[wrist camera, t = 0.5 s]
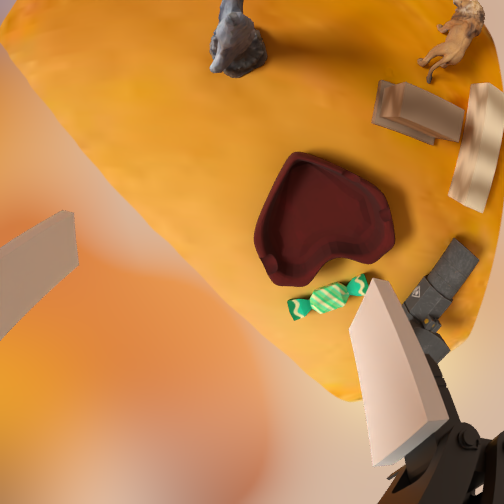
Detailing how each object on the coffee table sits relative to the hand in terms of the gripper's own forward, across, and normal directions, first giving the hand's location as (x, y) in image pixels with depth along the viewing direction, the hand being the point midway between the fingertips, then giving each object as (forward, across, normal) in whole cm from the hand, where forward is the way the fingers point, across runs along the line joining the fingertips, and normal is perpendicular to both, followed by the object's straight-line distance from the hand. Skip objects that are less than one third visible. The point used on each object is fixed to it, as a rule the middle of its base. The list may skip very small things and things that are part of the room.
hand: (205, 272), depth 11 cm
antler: (+27, -4, +14) cm, 31 cm away
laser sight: (+27, +30, -13) cm, 42 cm away
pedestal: (+27, +17, +12) cm, 34 cm away
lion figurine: (+27, +20, +26) cm, 42 cm away
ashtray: (+27, +8, -4) cm, 29 cm away
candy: (+27, +14, -16) cm, 34 cm away
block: (+27, +29, +13) cm, 42 cm away
